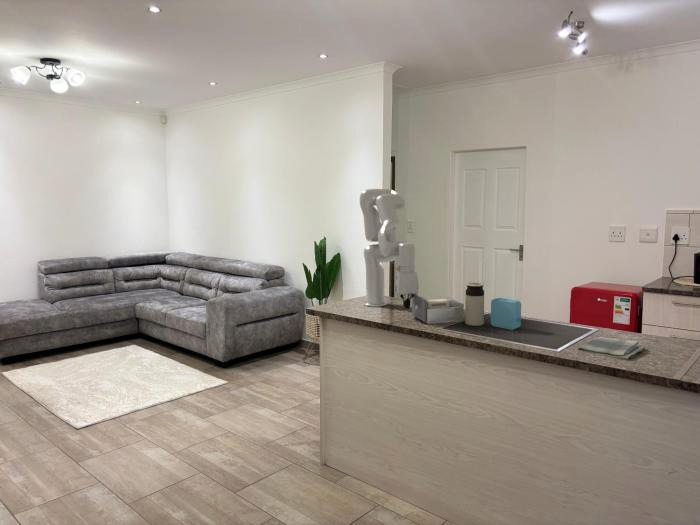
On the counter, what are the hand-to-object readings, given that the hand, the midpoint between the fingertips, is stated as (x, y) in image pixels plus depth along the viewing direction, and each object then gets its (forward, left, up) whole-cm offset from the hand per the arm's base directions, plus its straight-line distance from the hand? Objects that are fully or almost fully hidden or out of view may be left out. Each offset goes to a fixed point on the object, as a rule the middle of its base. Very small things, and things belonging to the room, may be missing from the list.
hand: (406, 308), depth 249 cm
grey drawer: (+6, +11, -4) cm, 13 cm away
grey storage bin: (+6, +13, -5) cm, 15 cm away
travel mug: (+20, +24, -5) cm, 32 cm away
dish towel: (+70, +54, -5) cm, 89 cm away
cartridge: (+6, +13, -2) cm, 14 cm away
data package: (+29, +35, -5) cm, 45 cm away
